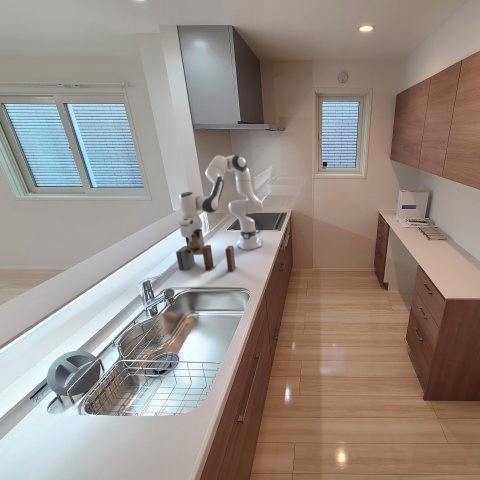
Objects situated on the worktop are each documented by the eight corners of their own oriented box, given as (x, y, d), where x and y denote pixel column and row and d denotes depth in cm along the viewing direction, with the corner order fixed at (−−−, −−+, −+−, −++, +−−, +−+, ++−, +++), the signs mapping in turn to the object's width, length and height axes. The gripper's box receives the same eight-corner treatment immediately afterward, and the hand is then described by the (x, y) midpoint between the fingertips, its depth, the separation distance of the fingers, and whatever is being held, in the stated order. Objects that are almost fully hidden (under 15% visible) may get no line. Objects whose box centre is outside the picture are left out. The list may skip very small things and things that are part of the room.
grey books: (187, 263, 173) (183, 244, 168) (194, 263, 173) (191, 244, 168) (179, 269, 164) (175, 250, 159) (187, 270, 164) (183, 250, 159)
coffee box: (188, 255, 161) (183, 232, 155) (191, 251, 167) (187, 229, 161) (203, 254, 162) (198, 231, 157) (205, 250, 168) (201, 228, 163)
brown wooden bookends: (209, 266, 169) (206, 244, 163) (235, 267, 169) (233, 245, 163) (205, 270, 164) (202, 248, 158) (232, 271, 163) (230, 249, 158)
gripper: (193, 213, 165) (197, 233, 171) (176, 223, 146) (181, 244, 152) (203, 214, 165) (206, 233, 171) (187, 223, 146) (191, 245, 152)
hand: (194, 238), depth 161 cm, fingers closed on coffee box, 7 cm apart
